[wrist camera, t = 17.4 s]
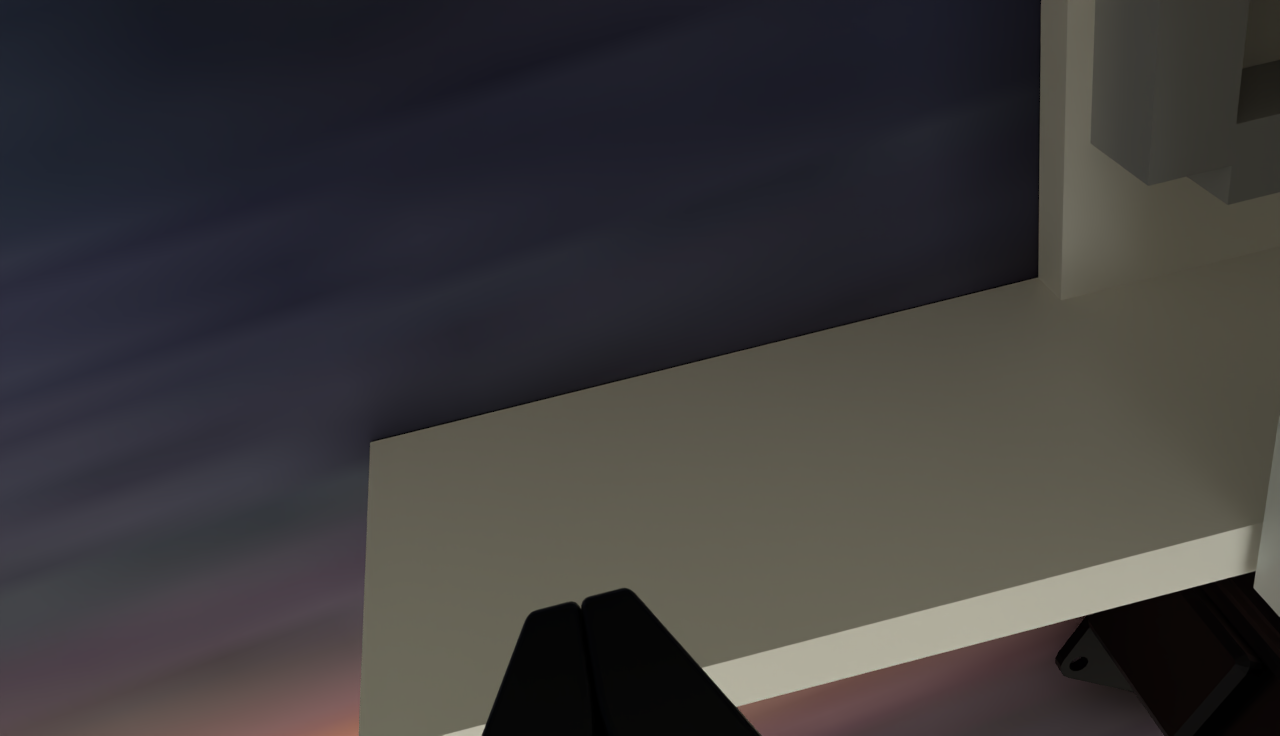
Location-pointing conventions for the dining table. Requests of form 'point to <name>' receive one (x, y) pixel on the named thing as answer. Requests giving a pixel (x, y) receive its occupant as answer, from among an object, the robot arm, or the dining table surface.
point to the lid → (1271, 538)
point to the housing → (899, 424)
